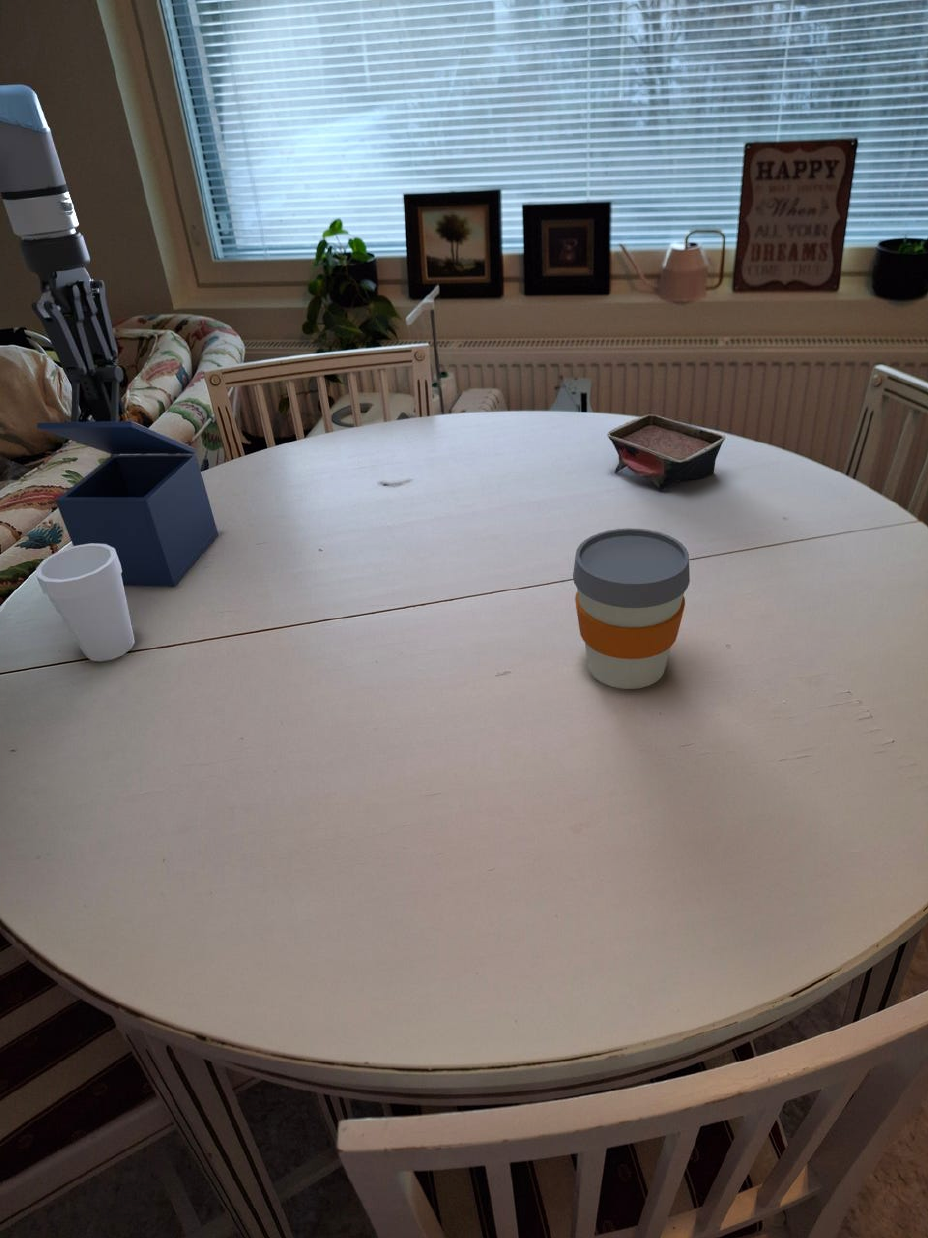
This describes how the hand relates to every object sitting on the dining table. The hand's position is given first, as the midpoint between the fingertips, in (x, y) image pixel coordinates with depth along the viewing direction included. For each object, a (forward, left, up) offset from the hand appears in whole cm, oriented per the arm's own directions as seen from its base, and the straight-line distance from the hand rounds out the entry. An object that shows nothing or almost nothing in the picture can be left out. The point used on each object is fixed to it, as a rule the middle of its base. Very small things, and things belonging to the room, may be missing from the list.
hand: (110, 416), depth 113 cm
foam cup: (+5, -23, -23) cm, 33 cm away
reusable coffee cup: (+72, -23, -23) cm, 79 cm away
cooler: (0, 0, -23) cm, 23 cm away
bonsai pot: (+79, +31, -23) cm, 88 cm away
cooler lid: (0, +1, -4) cm, 4 cm away
